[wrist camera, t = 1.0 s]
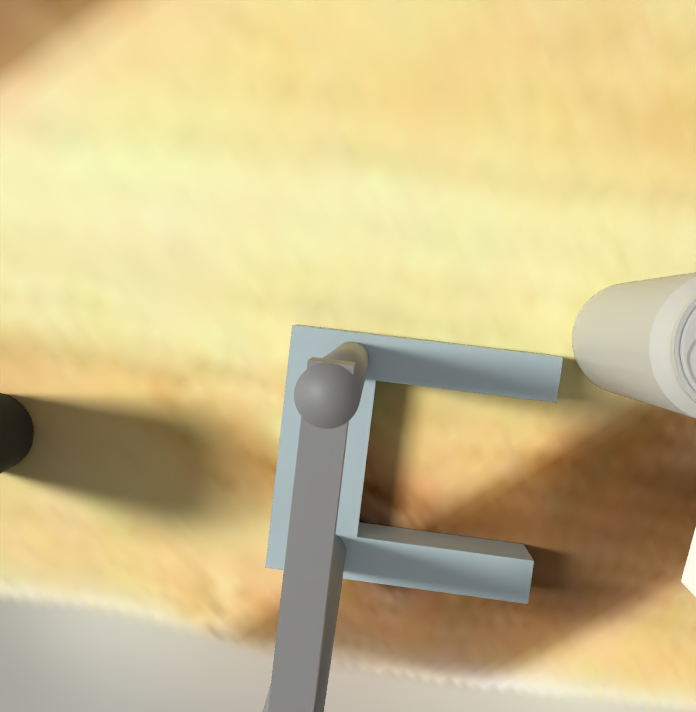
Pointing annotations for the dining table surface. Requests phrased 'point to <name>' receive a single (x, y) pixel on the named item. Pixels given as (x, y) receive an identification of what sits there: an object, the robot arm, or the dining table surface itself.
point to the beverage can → (642, 341)
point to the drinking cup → (13, 432)
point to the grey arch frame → (345, 485)
